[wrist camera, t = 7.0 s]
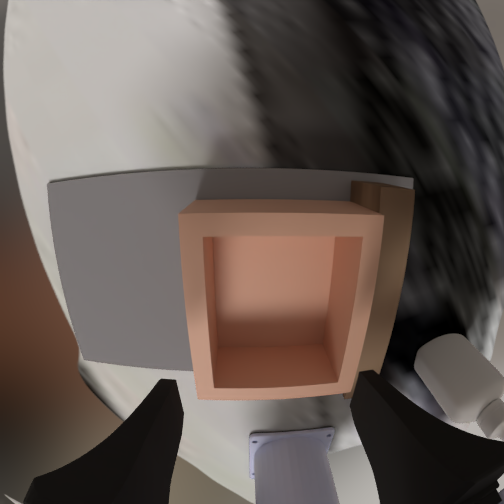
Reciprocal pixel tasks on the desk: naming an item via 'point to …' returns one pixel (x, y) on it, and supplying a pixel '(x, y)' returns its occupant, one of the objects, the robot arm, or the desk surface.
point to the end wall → (384, 265)
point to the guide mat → (153, 250)
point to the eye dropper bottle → (463, 382)
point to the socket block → (277, 294)
